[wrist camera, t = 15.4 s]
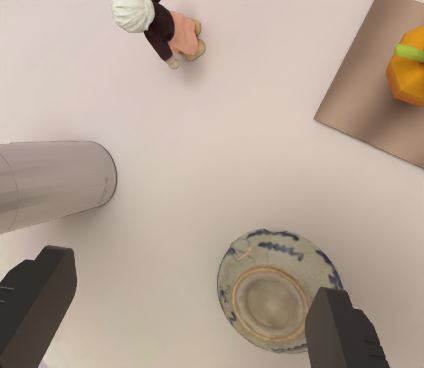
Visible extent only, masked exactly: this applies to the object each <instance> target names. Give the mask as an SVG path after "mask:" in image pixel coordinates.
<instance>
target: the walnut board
mask: <svg viewBox="0 0 424 368" xmlns="http://www.w3.org/2000/svg"><path fill="white" fill-rule="evenodd" d="M422 25H424V3H421V2H417V1H414V0H374V2H373V4H372V6H371V8H370V10H369V12H368V14H367V16H366V18H365V20H364V22H363V24H362V26H361V27H360V29H359V31H358V33H357V35H356V37H355V39H354V41H353V43H352V45H351V47H350V49H349V51H348V53H347V55H346V57H345V58H344V60H343V62H342V64H341V66H340V68H339V70H338V72H337V74H336V76H335V78H334V80H333V82H332V84H331V86H330V88H329V90H328V91H327V93H326V95H325V97H324V99H323V101H322V103H321V105H320V107H319V109H318V111H317V113H316V115H315V117H314V119H315V120H317V121H319V122H322V123H324V124H326V125H328V126H331V127H333V128H335V129H337V130H340V131H342V132H344V133H346V134H348V135H351V136H353V137H355V138H357V139H360V140H362V141H364V142H366V143H368V144H371V145H373V146H375V147H377V148H380V149H382V150H384V151H386V152H389V153H391V154H393V155H395V156H397V157H400V158H402V159H404V160H406V161H409V162H411V163H413V164H415V165H417V166H420V167H422V168H424V107H418V106H416V105H413V104H410V103H407V102H404V101H402V100H399V99H396V98H394V96H393V93H392V91H391V88H390V85H389V82H388V80H387V77H386V69H387V66H388V64H389V62H390V60H391V58H392V56H393V54H394V49H395V47H396V46H397V44H399V43H400V41H401V39H402V37H403V35H404V34H405V33H407V32H409V31H411V30H413V29H416V28H418V27H420V26H422Z"/></svg>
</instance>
